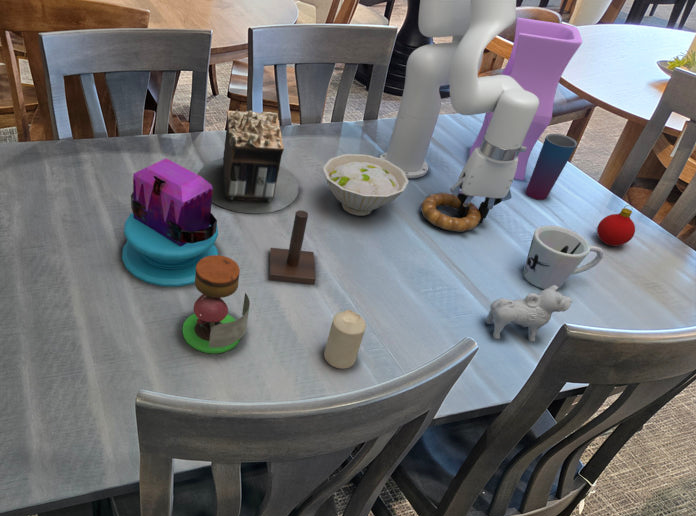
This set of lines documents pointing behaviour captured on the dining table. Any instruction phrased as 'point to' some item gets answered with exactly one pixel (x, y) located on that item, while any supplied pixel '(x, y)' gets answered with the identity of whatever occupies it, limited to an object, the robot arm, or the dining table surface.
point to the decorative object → (169, 225)
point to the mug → (557, 256)
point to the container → (537, 74)
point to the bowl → (364, 182)
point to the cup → (550, 165)
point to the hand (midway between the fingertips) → (469, 218)
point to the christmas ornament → (616, 228)
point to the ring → (447, 221)
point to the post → (293, 257)
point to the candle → (344, 339)
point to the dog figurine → (527, 310)
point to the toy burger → (215, 307)
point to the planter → (251, 166)
